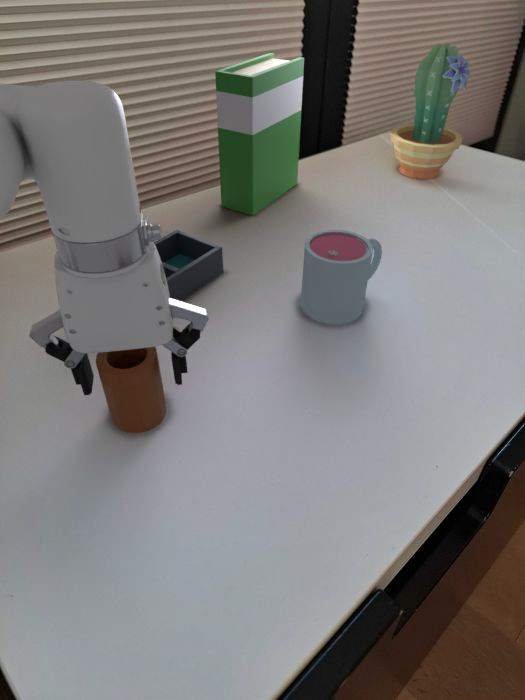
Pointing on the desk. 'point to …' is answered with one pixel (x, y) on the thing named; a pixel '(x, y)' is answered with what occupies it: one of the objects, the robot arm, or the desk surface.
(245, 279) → the desk surface
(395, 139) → the potted cactus
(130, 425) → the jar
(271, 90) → the hardback book
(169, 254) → the divided tray
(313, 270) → the mug
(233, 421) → the desk surface
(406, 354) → the desk surface
